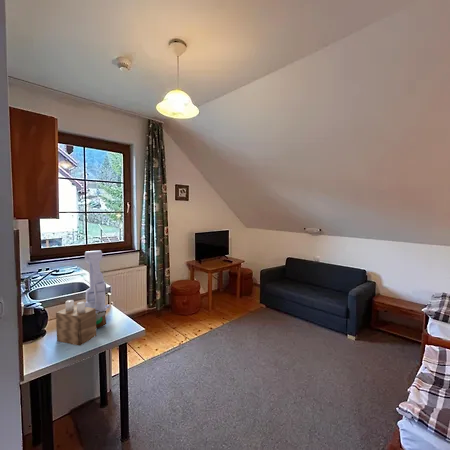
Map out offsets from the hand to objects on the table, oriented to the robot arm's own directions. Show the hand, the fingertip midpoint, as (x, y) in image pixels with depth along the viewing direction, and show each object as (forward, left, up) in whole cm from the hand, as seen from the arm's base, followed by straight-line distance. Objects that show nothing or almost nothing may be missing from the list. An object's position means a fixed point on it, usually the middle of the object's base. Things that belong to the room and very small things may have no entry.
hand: (100, 322), depth 168 cm
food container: (0, -3, -1) cm, 3 cm away
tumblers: (0, -19, +15) cm, 24 cm away
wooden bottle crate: (0, -18, -1) cm, 18 cm away
